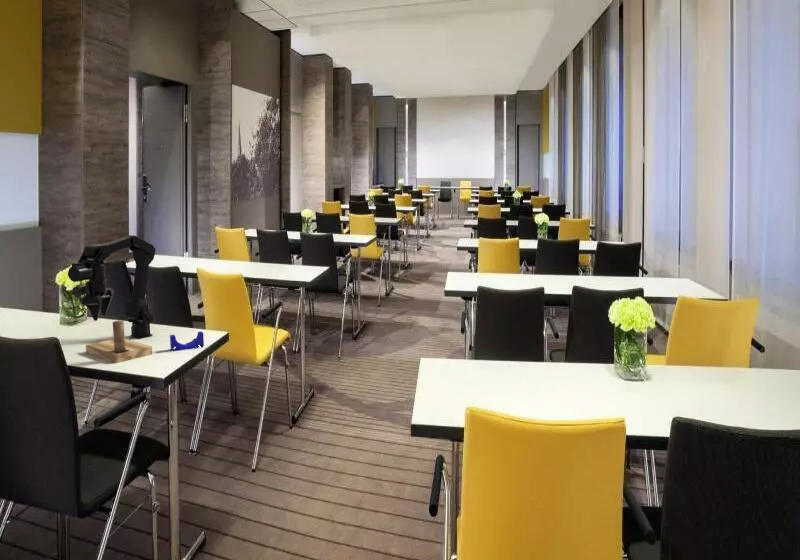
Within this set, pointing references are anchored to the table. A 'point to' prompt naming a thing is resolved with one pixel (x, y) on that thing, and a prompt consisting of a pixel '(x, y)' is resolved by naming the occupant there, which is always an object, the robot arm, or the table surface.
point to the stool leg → (119, 337)
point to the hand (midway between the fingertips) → (99, 317)
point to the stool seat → (108, 352)
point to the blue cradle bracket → (193, 344)
